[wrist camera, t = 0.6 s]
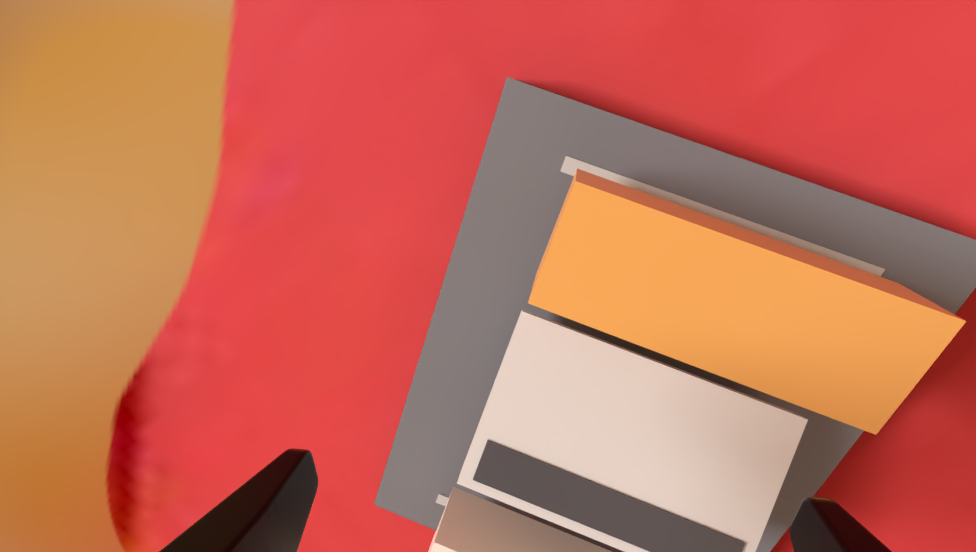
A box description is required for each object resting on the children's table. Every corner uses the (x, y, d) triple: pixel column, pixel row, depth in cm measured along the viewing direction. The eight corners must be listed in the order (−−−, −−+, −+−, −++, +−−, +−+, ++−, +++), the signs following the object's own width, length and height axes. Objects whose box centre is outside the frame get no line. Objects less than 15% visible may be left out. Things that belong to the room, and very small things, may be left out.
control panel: (962, 235, 18) (1062, 269, 14) (692, 602, 26) (711, 686, 23) (514, 79, 19) (497, 72, 16) (388, 477, 27) (356, 537, 24)
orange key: (898, 283, 16) (966, 321, 13) (828, 381, 17) (876, 435, 14) (577, 168, 16) (575, 180, 14) (536, 272, 18) (527, 303, 15)
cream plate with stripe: (792, 411, 18) (809, 420, 17) (725, 580, 19) (738, 599, 18) (521, 309, 19) (521, 311, 18) (460, 472, 19) (456, 484, 18)
